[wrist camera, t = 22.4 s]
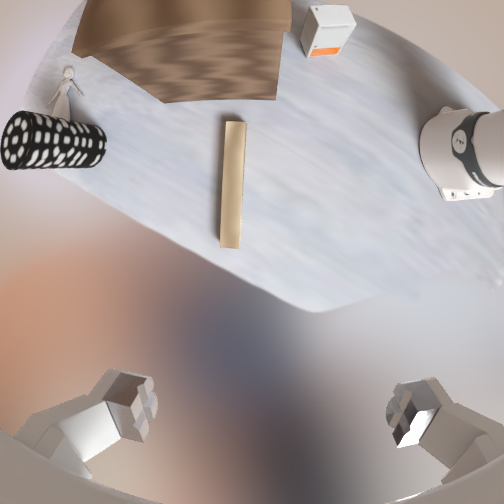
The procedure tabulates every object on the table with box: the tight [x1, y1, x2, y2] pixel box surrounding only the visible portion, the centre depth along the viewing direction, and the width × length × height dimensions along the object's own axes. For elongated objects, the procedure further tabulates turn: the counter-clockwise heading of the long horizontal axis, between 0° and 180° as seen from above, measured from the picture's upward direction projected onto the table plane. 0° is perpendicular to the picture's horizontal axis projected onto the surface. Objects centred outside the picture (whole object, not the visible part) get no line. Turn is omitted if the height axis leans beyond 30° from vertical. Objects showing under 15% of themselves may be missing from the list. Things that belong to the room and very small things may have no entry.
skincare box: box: [300, 4, 357, 58], centre depth 32 cm, size 6×4×12 cm
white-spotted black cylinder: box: [0, 111, 107, 170], centre depth 34 cm, size 8×8×20 cm
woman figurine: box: [44, 67, 83, 120], centre depth 40 cm, size 12×4×18 cm
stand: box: [71, 0, 292, 103], centre depth 26 cm, size 20×18×26 cm
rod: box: [220, 121, 247, 249], centre depth 43 cm, size 3×20×3 cm, turn 177°
